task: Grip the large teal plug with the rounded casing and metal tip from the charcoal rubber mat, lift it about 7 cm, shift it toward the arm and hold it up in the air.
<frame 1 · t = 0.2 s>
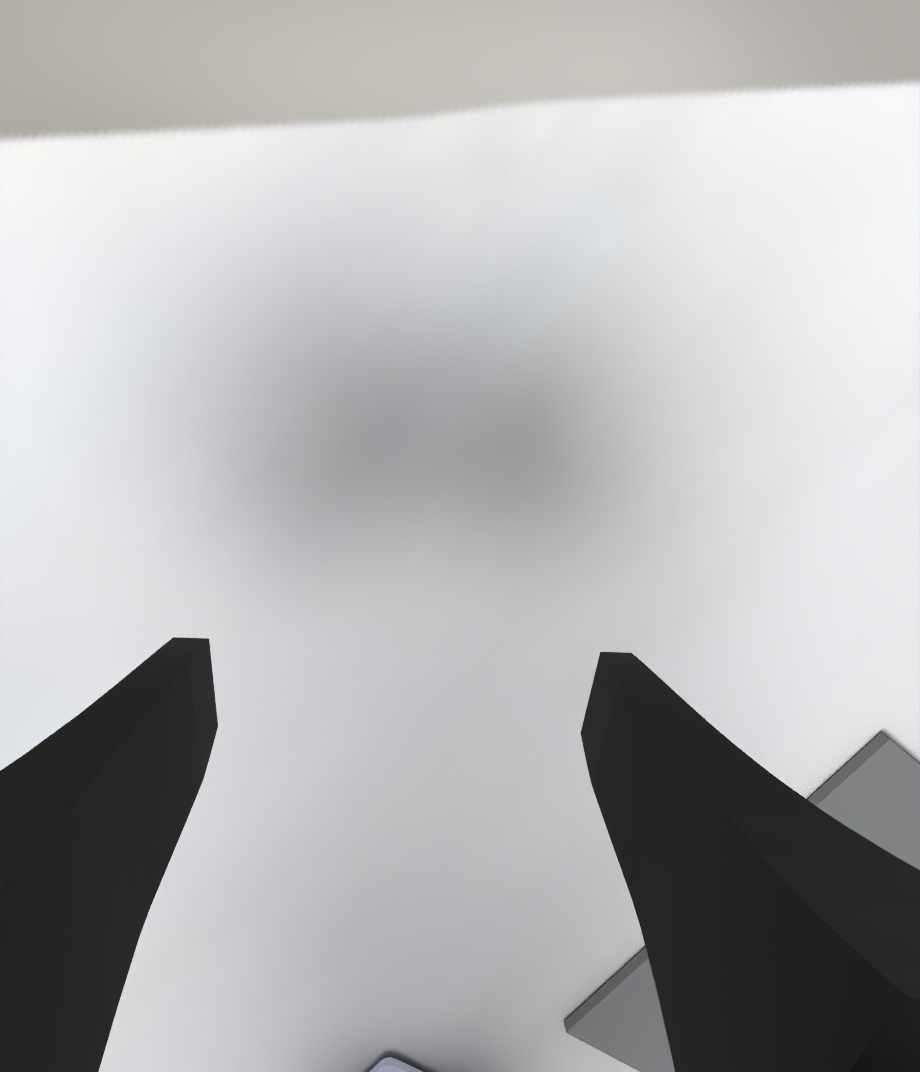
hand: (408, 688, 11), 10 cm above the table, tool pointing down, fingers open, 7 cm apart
charcoal mat: (822, 960, 30), on the table
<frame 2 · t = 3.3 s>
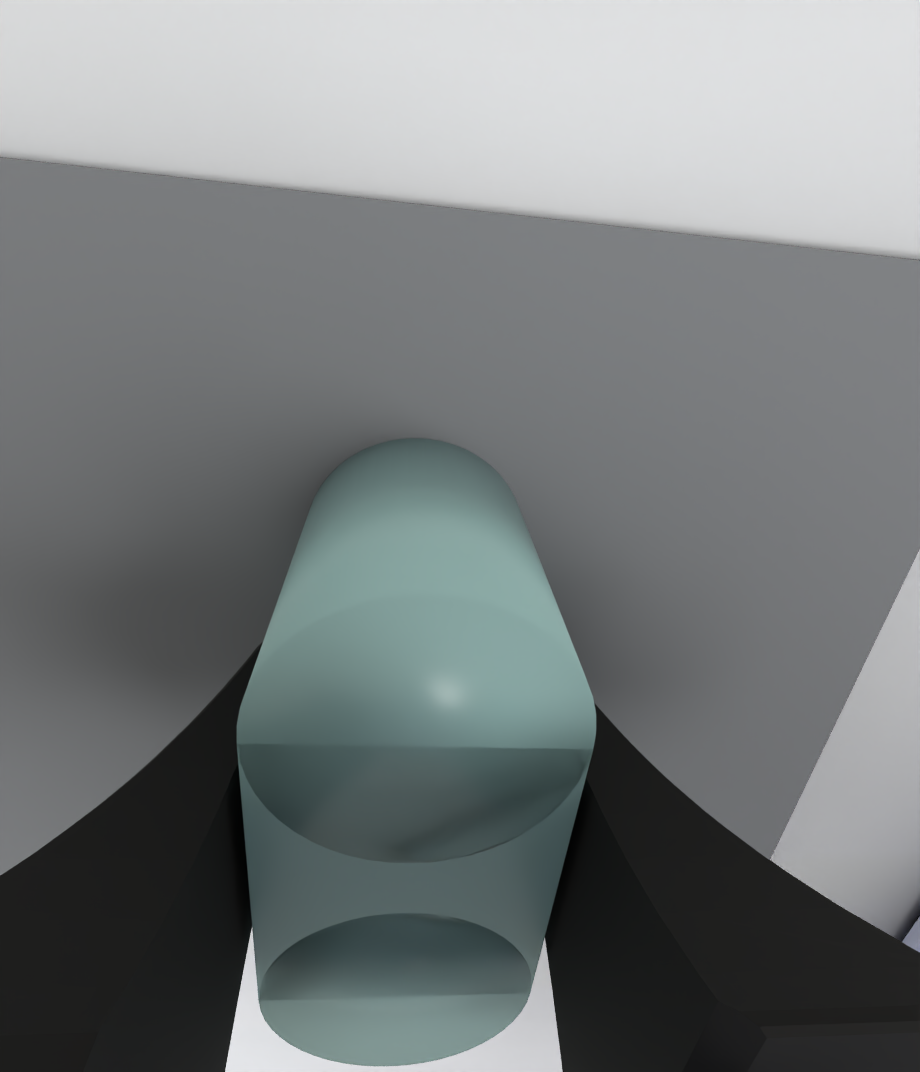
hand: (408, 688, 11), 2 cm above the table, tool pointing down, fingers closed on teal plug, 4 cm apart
teal plug: (408, 652, 12), resting on charcoal mat, touching gripper
charcoal mat: (408, 637, 13), on the table
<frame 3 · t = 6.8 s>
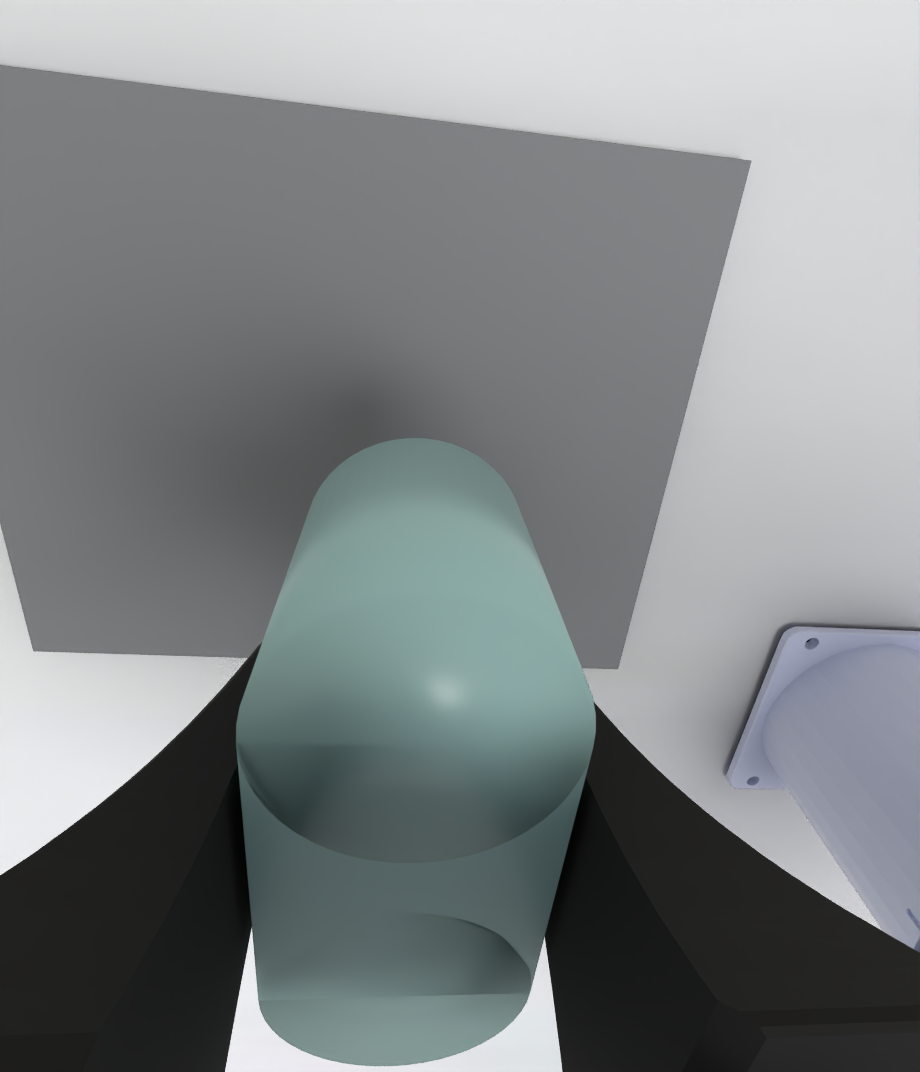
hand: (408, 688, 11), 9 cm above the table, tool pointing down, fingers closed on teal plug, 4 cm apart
teal plug: (407, 652, 12), point 8 cm above the table, touching gripper
charcoal mat: (345, 434, 18), on the table
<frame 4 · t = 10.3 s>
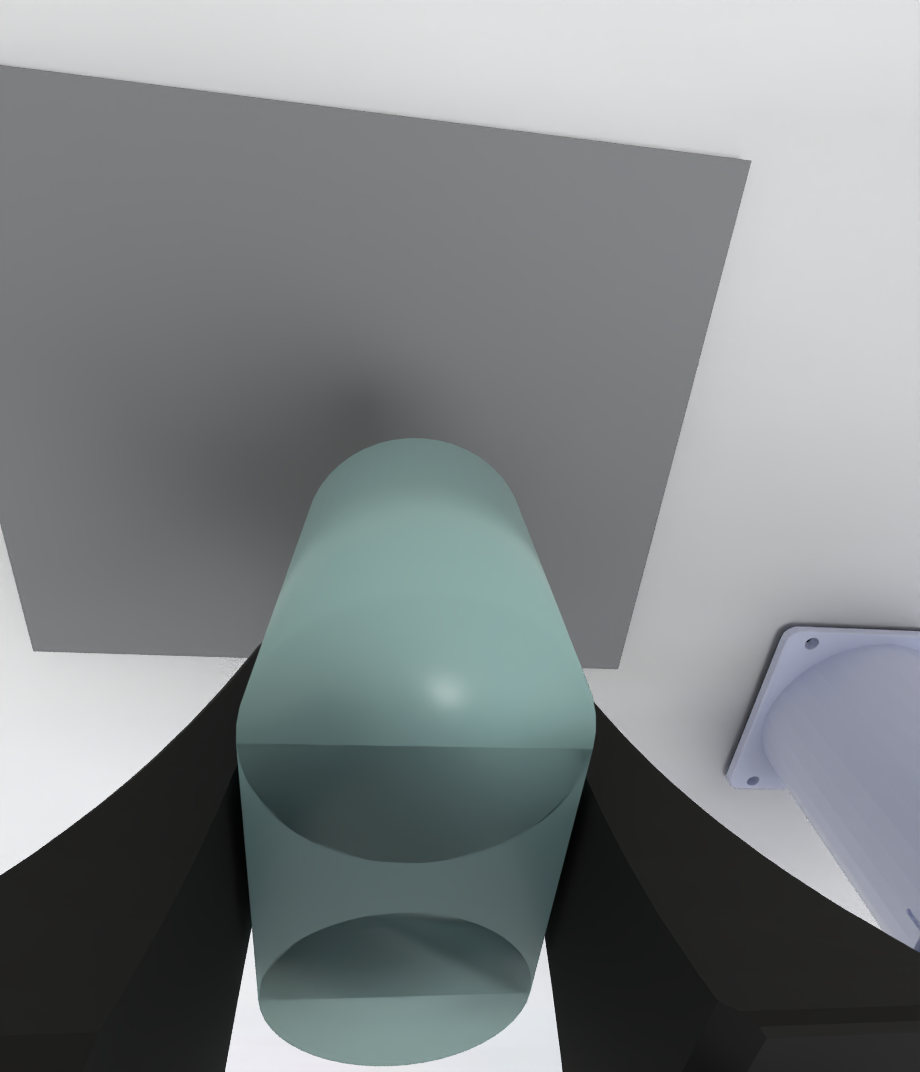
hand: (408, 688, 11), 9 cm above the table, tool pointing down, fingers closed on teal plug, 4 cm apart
teal plug: (407, 652, 12), point 8 cm above the table, touching gripper
charcoal mat: (345, 434, 18), on the table
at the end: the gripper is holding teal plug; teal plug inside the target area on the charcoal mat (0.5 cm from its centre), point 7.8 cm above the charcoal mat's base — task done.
